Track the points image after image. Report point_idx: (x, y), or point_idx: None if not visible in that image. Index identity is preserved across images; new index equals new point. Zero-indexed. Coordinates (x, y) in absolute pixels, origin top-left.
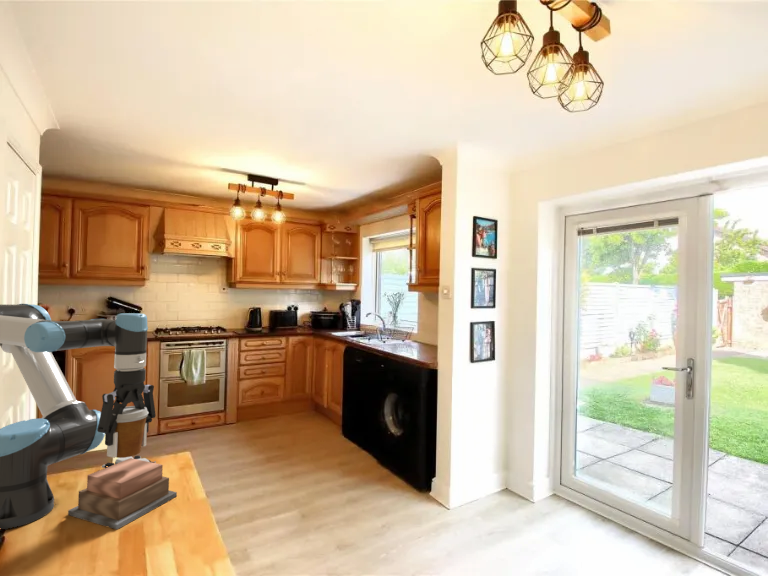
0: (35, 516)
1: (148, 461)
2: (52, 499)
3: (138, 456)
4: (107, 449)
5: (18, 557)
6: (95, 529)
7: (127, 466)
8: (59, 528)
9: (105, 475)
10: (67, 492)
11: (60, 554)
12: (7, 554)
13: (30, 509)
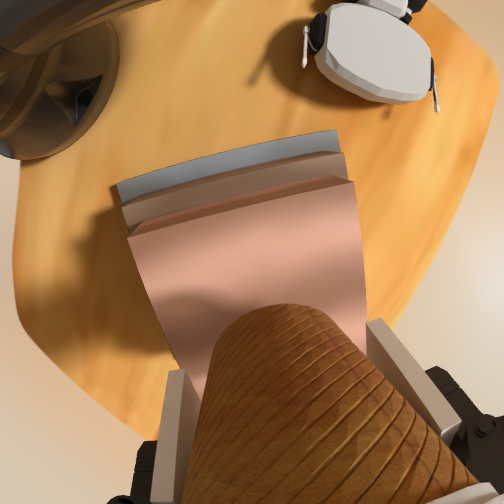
0: (53, 153)
1: (425, 91)
2: (93, 101)
3: (423, 1)
4: (165, 401)
5: (27, 303)
6: (149, 320)
7: (288, 279)
8: (90, 246)
9: (181, 302)
10: (179, 14)
11: (83, 354)
12: (13, 274)
13: (31, 154)
